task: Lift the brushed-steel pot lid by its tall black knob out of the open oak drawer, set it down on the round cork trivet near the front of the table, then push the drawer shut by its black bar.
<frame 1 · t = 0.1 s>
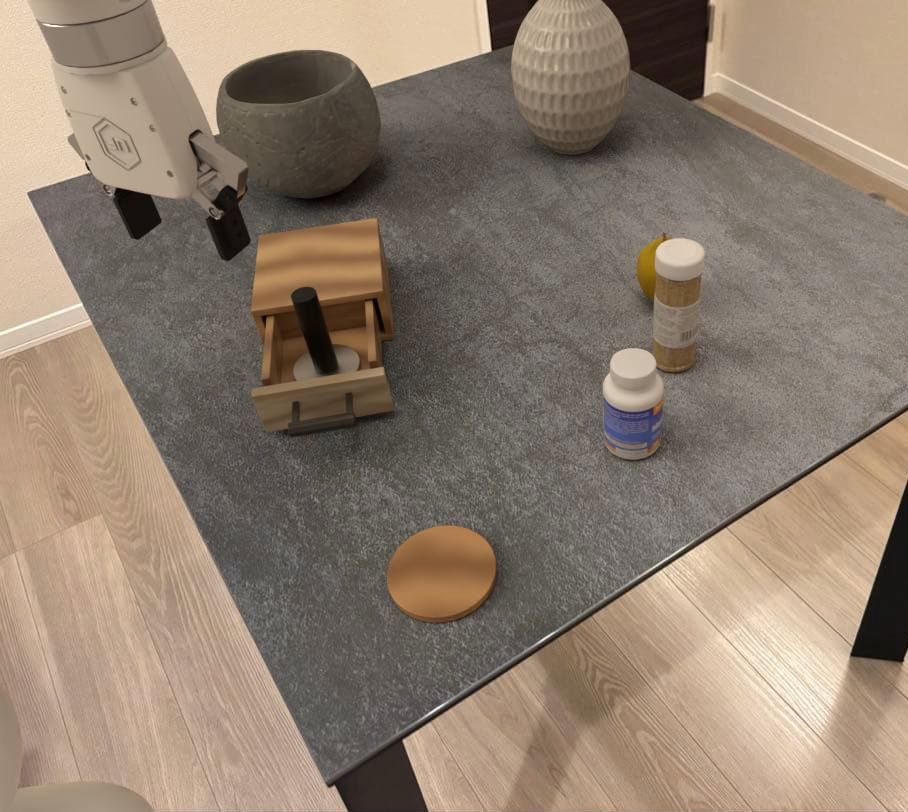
hand: (191, 241, 70), 20 cm above the table, tool pointing down, fingers open, 9 cm apart
pill bottle: (631, 441, 78), on the table
cabinet: (331, 309, 95), on the table
drawer: (324, 372, 82), point 3 cm above the table, slide at 11.0 cm, touching lid
lid: (327, 369, 84), point 2 cm above the table, touching drawer
vase: (573, 145, 120), on the table
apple: (663, 301, 93), on the table
sprinkles bottle: (672, 361, 85), on the table
bowl: (317, 181, 117), on the table
trivet: (442, 574, 68), on the table
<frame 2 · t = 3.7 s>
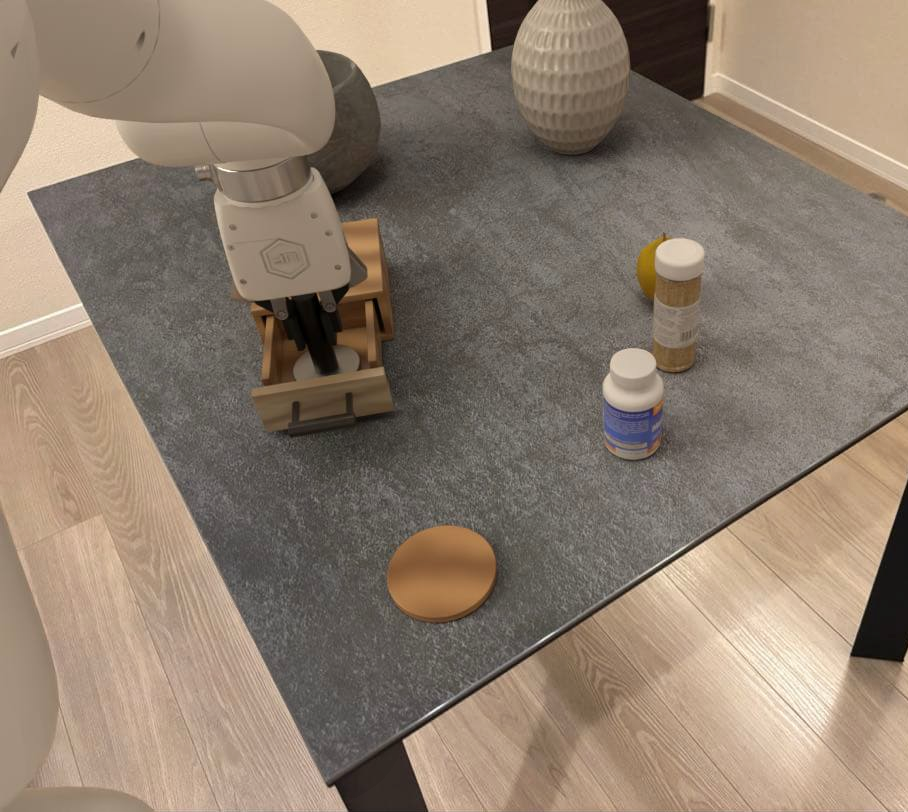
hand: (317, 338, 81), 6 cm above the table, tool pointing down, fingers closed on lid, 2 cm apart
lid: (327, 369, 84), point 2 cm above the table, touching drawer, gripper
everything else where it was.
when the fingers open (5 cm above the table, at t = 10.7 s): lid stays where it is, resting on trivet.
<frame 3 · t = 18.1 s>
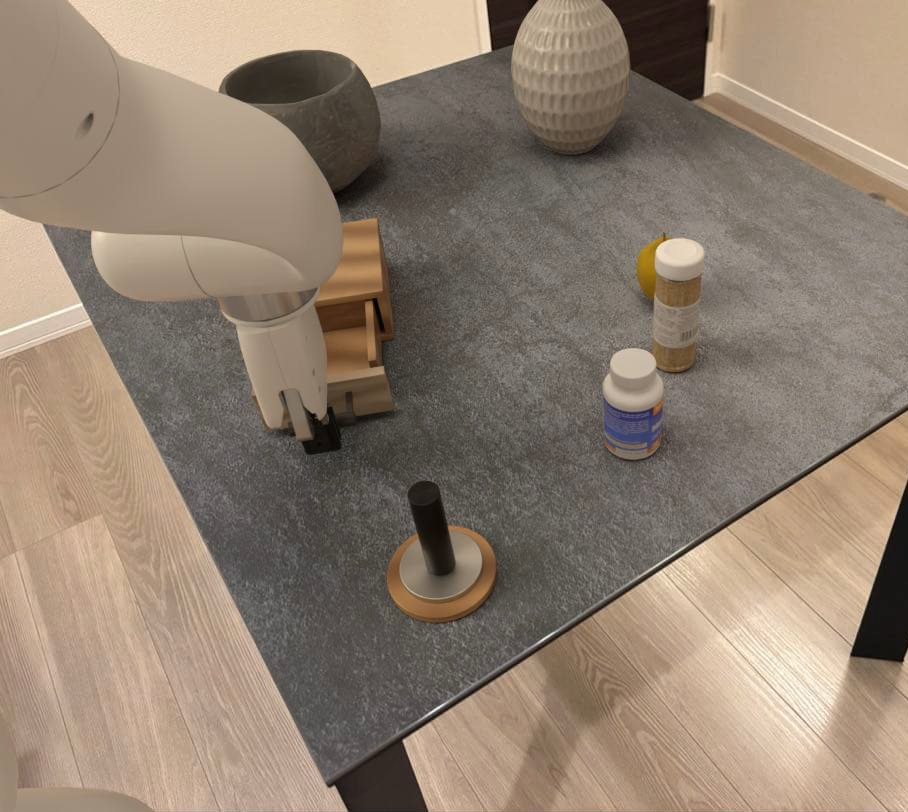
hand: (324, 446, 75), 3 cm above the table, tool pointing down, fingers closed
drawer: (324, 371, 82), point 3 cm above the table, slide at 10.9 cm, touching gripper
lid: (442, 567, 68), point 1 cm above the table, touching trivet
everything else where it was.
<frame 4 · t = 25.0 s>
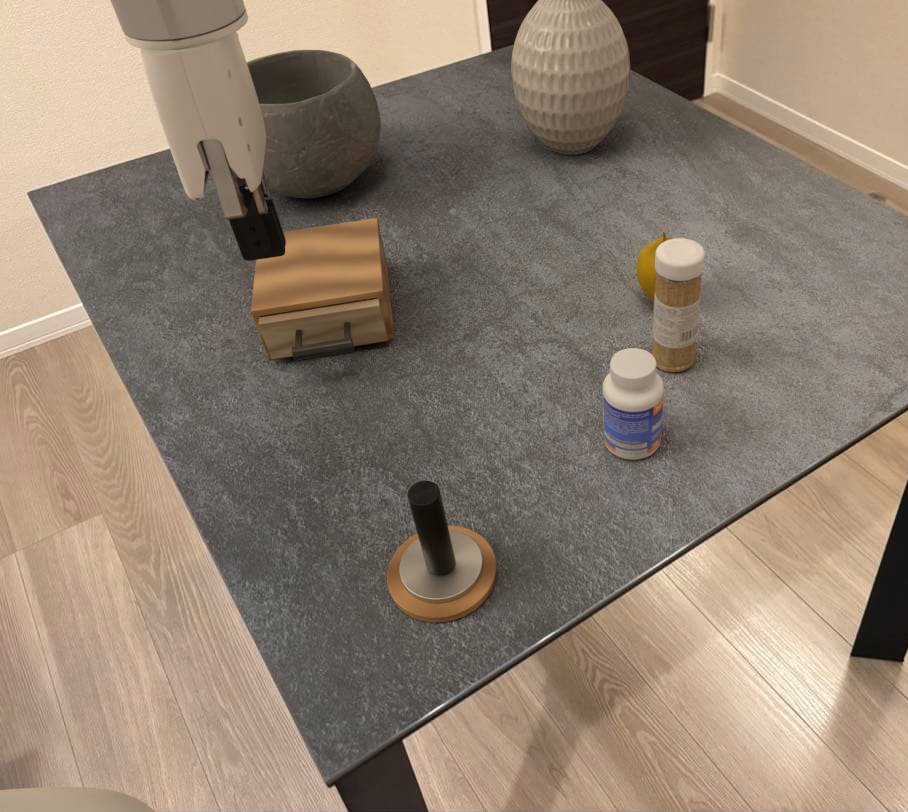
hand: (265, 252, 64), 22 cm above the table, tool pointing down, fingers closed
drawer: (324, 306, 90), point 3 cm above the table, slide at 0.0 cm, touching cabinet
everything else where it was.
at the end: lid 0.1 cm off-centre on the trivet, point 0.8 cm above the trivet's base; lid tilted 0°; drawer slide at 0.0 cm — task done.
